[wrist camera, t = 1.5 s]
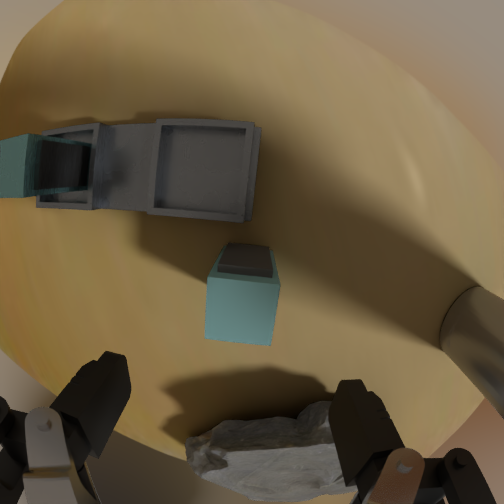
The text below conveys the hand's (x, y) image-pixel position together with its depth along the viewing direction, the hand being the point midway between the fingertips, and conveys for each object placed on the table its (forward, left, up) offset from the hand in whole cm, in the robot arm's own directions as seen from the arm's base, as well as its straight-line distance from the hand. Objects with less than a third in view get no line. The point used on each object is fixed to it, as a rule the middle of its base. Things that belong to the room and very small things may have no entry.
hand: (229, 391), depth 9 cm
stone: (-9, +24, -15) cm, 30 cm away
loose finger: (0, 0, -15) cm, 15 cm away
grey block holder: (+10, -8, -15) cm, 19 cm away
